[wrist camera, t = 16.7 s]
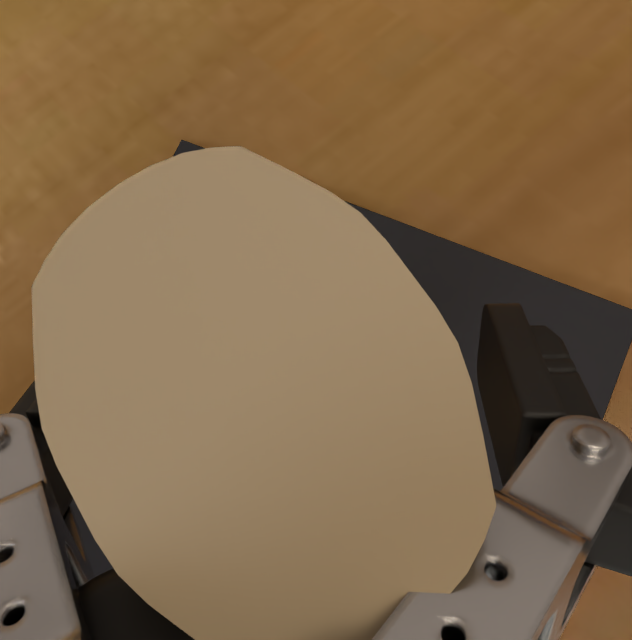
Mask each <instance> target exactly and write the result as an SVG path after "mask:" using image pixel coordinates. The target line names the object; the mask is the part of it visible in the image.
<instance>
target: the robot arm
mask: <svg viewBox="0 0 632 640" xmlns="http://www.w3.org/2000/svg"><path fill="white" fill-rule="evenodd" d="M477 380H478V387H479V391H480V395H481V399H482V404H483V408H484V412H485V416H486V420H487V424H488V428H489V432H490V436H491V441H492V445H493V449H494V453H495V457H496V461H497V465H498V469H499V473H500V478H501V482H502V486H503V488H502V489H501V490H500V491H498V490H496V489H494V488H493V490H494V495H495V500H496V509H495V512H494V515H493V517H492V520H491V523H490V526H489V529H488V532H487V535H486V538H485V540H484V542H483V544H482V546H481V548H480V550H479V552H478V554H477V556H476V558H475V560H474V562H473V564H472V565H471V567H470V569H469V571H468V573H467V574H466V576H465V577H464V578H463V579H462V580H461V582H460V583H459V584H458V585H457V586H456V587H455V589H454V590H453V591H452V592H451V593H450V594H446V593H424V592H408V593H407V594H406V595H405V597H404V598H403V599H402V601H401V602H400V603H399V605H398V606H397V607H396V608H395V610H394V611H393V612H392V614H391V615H390V616H389V618H388V619H387V620H386V622H385V623H384V624H383V625H382V627H381V628H380V629H379V631H378V632H377V633H376V635H375V636H374V637H373V638H372V639H371V640H559V639H560V637H561V635H562V633H563V631H564V629H565V627H566V625H567V623H568V621H569V619H570V617H571V615H572V613H573V611H574V610H575V608H576V606H577V604H578V602H579V600H580V598H581V596H582V594H583V592H584V590H585V588H586V586H587V584H588V582H589V580H590V578H591V576H592V575H593V573H594V571H595V569H596V567H597V566H600V567H603V568H606V569H610V570H613V571H616V572H619V573H622V574H626V575H629V576H632V442H631V441H630V439H629V438H628V437H627V436H626V435H625V434H624V433H623V432H622V431H621V430H620V429H618V428H617V427H615V426H614V425H612V424H610V423H608V422H606V421H604V420H601V418H600V416H599V414H598V412H597V410H596V408H595V405H594V403H593V401H592V399H591V397H590V395H589V393H588V391H587V389H586V387H585V385H584V383H583V381H582V379H581V377H580V375H579V373H578V372H577V368H576V366H575V364H574V362H573V360H572V359H570V354H569V352H568V350H567V348H566V346H565V344H564V342H563V340H562V339H561V338H560V337H559V336H558V335H556V334H555V333H554V332H553V331H552V330H550V329H549V328H548V327H547V326H546V325H537V326H530V325H529V323H528V320H527V318H526V315H525V313H524V311H523V308H522V306H521V304H519V303H508V304H485V305H484V307H483V311H482V319H481V328H480V337H479V347H478V356H477ZM72 500H73V497H72V495H71V493H70V491H69V489H68V487H67V485H66V483H65V481H64V479H63V477H62V476H61V474H60V472H59V470H58V468H57V466H56V464H55V461H54V458H53V456H52V453H51V451H50V448H49V446H48V443H47V441H46V438H45V436H44V433H43V430H42V427H41V421H40V415H39V409H38V403H37V397H36V391H35V380H34V382H33V383H32V384H31V386H30V387H29V388H28V389H27V391H26V392H25V393H24V394H23V396H22V397H21V398H20V400H19V401H18V402H17V403H16V405H15V406H14V407H13V409H12V410H11V411H10V412H9V413H6V414H0V640H195V639H193V638H192V637H191V636H189V635H188V634H187V633H185V632H184V631H183V630H181V629H180V628H179V627H177V626H176V625H175V624H173V623H172V622H171V621H169V620H168V619H167V618H165V617H164V616H163V615H161V614H160V613H159V612H158V611H156V610H155V609H154V608H152V607H151V606H150V605H148V604H147V603H146V602H145V601H144V600H143V599H142V598H141V597H140V596H139V595H138V594H137V593H136V592H135V591H134V590H133V589H132V588H131V587H130V586H129V585H128V584H127V583H126V582H125V581H124V580H123V579H122V578H121V577H120V576H118V574H117V573H116V571H115V570H114V568H113V569H111V570H108V571H106V572H104V573H102V574H100V575H98V576H97V577H95V576H94V574H93V571H92V567H91V564H90V561H89V558H88V555H87V552H86V549H85V545H84V542H83V539H82V536H81V533H80V530H79V527H78V524H77V520H76V517H75V514H74V512H73V510H72V508H71V506H70V504H71V502H72Z"/></svg>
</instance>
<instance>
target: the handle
mask: <svg viewBox="0 0 632 640" xmlns="http://www.w3.org/2000/svg"><path fill="white" fill-rule="evenodd" d="M32 320H33V353H34V373H35V391H36V397H37V403H38V409H39V415H40V421H41V427H42V430H43V433H44V436H45V438H46V441H47V443H48V446H49V448H50V451H51V453H52V456H53V458H54V461H55V464H56V466H57V468H58V470H59V472H60V474H61V476H62V477H63V479H64V481H65V483H66V485H67V487H68V489H69V491H70V493H71V495H72V497H73V499H74V501H75V503H76V504H77V506H78V508H79V510H80V512H81V514H82V516H83V518H84V520H85V522H86V524H87V526H88V528H89V529H90V531H91V533H92V535H93V537H94V539H95V541H96V542H97V544H98V545H99V547H100V548H101V550H102V551H103V553H104V554H105V556H106V557H107V559H108V560H109V562H110V563H111V565H112V566H113V568H114V570H115V571H116V573H117V574H118V576H120V577H121V578H122V579H123V580H124V581H125V582H126V583H127V584H128V585H129V586H130V587H131V588H132V589H133V590H134V591H135V592H136V593H137V594H138V595H139V596H140V597H141V598H142V599H143V600H144V601H145V602H146V603H147V604H148V605H150V606H151V607H152V608H154V609H155V610H156V611H158V612H159V613H160V614H161V615H163V616H164V617H165V618H167V619H168V620H169V621H171V622H172V623H173V624H175V625H176V626H177V627H179V628H180V629H181V630H183V631H184V632H185V633H187V634H188V635H189V636H191V637H192V638H193V639H195V640H371V639H372V638H373V637H374V636H375V635H376V633H377V632H378V631H379V629H380V628H381V627H382V625H383V624H384V623H385V622H386V620H387V619H388V618H389V616H390V615H391V614H392V612H393V611H394V610H395V608H396V607H397V606H398V605H399V603H400V602H401V601H402V599H403V598H404V597H405V595H406V594H407V593H408V592H424V593H446V594H450V593H451V592H452V591H453V590H454V589H455V587H456V586H457V585H458V584H459V583H460V582H461V580H462V579H463V578H464V577H465V576H466V574H467V573H468V571H469V569H470V567H471V565H472V564H473V562H474V560H475V558H476V556H477V554H478V552H479V550H480V548H481V546H482V544H483V542H484V540H485V538H486V535H487V532H488V529H489V526H490V523H491V520H492V517H493V515H494V512H495V509H496V500H495V495H494V490H493V485H492V479H491V474H490V469H489V463H488V458H487V453H486V448H485V442H484V437H483V432H482V428H481V423H480V418H479V414H478V409H477V405H476V400H475V395H474V391H473V386H472V382H471V379H470V376H469V373H468V371H467V368H466V365H465V362H464V359H463V356H462V353H461V350H460V347H459V344H458V342H457V340H456V339H455V337H454V335H453V334H452V332H451V330H450V329H449V327H448V325H447V324H446V322H445V320H444V319H443V317H442V315H441V314H440V312H439V310H438V309H437V307H436V305H435V304H434V303H433V301H432V300H431V299H430V298H429V296H428V295H427V294H426V292H425V291H424V290H423V288H422V287H421V286H420V284H419V283H418V282H417V280H416V279H415V278H414V276H413V275H412V274H411V272H410V271H409V270H408V268H407V267H406V266H405V264H404V263H403V262H402V260H401V259H400V258H399V256H398V255H397V254H396V252H395V251H394V250H393V248H392V247H391V246H390V244H389V243H388V242H387V240H386V239H385V238H384V237H383V236H382V235H381V234H380V233H379V232H378V231H377V230H376V229H375V228H374V227H373V225H372V224H371V223H370V222H369V221H368V220H367V219H366V218H365V217H364V216H363V215H362V214H361V213H360V212H359V211H358V210H356V209H355V208H353V207H352V206H350V205H349V204H347V203H346V202H345V201H343V200H342V199H340V198H339V197H337V196H336V195H334V194H333V193H331V192H330V191H328V190H326V189H325V188H323V187H321V186H319V185H317V184H315V183H313V182H311V181H309V180H307V179H306V178H304V177H302V176H300V175H298V174H296V173H294V172H292V171H290V170H288V169H286V168H284V167H282V166H280V165H278V164H276V163H274V162H272V161H270V160H268V159H266V158H264V157H262V156H260V155H258V154H256V153H254V152H252V151H250V150H248V149H246V148H244V147H241V146H230V147H212V148H207V149H201V150H196V151H190V152H185V153H181V154H179V155H176V156H174V157H171V158H169V159H166V160H164V161H161V162H158V163H156V164H153V165H151V166H149V167H147V168H145V169H144V170H142V171H140V172H138V173H137V174H135V175H133V176H131V177H130V178H128V179H126V180H124V181H123V182H121V183H119V184H118V185H116V186H115V187H114V188H112V189H111V190H110V191H108V192H107V193H106V194H104V195H103V196H102V197H101V198H99V199H98V200H97V201H95V202H94V203H93V204H92V205H90V206H89V207H88V208H86V210H85V211H84V212H83V213H82V214H81V215H80V216H79V217H78V218H77V219H76V220H75V221H74V222H73V223H72V224H71V225H70V226H69V227H68V228H67V229H66V230H65V231H64V232H63V233H62V234H61V236H60V238H59V239H58V241H57V242H56V244H55V245H54V247H53V248H52V250H51V251H50V253H49V254H48V256H47V257H46V259H45V261H44V263H43V265H42V267H41V269H40V271H39V273H38V275H37V277H36V279H35V281H34V283H33V285H32Z"/></svg>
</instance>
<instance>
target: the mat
mask: <svg viewBox="0 0 632 640" xmlns="http://www.w3.org/2000/svg"><path fill="white" fill-rule="evenodd" d="M201 149H205V148H203V147H200V146H197V145H195V144H192V143H189V142H187V141H184V140H181V142H180V144H179V146H178V148H177V150H176V152H175V154H174V156H176V155H179V154H181V153H185V152H190V151H196V150H201ZM174 156H173V157H174ZM345 202H346V201H345ZM346 203H347V204H349V205H350V206H352V207H353V208H355V209H356V210H358V211H359V212H360V213H361V214H362V215H363V216H364V217H365V218H366V219H367V220H368V221H369V222H370V223H371V224H372V225H373V227H374V228H375V229H376V230H377V231H378V232H379V233H380V234H381V235H382V236H383V237H384V238H385V239H386V240H387V242H388V243H389V244H390V246H391V247H392V248H393V250H394V251H395V252H396V254H397V255H398V256H399V258H400V259H401V260H402V262H403V263H404V264H405V266H406V267H407V268H408V270H409V271H410V272H411V274H412V275H413V276H414V278H415V279H416V280H417V282H418V283H419V284H420V286H421V287H422V288H423V290H424V291H425V292H426V294H427V295H428V296H429V298H430V299H431V300H432V301H433V303H434V304H435V305H436V307H437V309H438V310H439V312H440V314H441V315H442V317H443V319H444V320H445V322H446V324H447V325H448V327H449V329H450V330H451V332H452V334H453V335H454V337H455V339H456V340H457V342H458V344H459V347H460V350H461V353H462V356H463V359H464V362H465V365H466V368H467V371H468V373H469V376H470V379H471V382H472V386H473V391H474V395H475V400H476V405H477V409H478V414H479V418H480V423H481V428H482V432H483V437H484V442H485V448H486V453H487V458H488V463H489V469H490V474H491V479H492V485H493V488H494V489H496V490H498V491H500V490H501V489H502V488H503V486H502V482H501V478H500V473H499V469H498V465H497V461H496V457H495V453H494V449H493V445H492V441H491V436H490V432H489V428H488V424H487V420H486V416H485V412H484V408H483V404H482V399H481V395H480V391H479V387H478V380H477V356H478V347H479V337H480V328H481V319H482V311H483V307H484V305H485V304H508V303H519V304H521V306H522V308H523V311H524V313H525V315H526V318H527V320H528V323H529V325H530V326H537V325H546V326H547V327H548V328H549V329H550V330H552V331H553V332H554V333H555V334H556V335H558V336H559V337H560V338H561V339H562V340H563V342H564V344H565V346H566V348H567V350H568V352H569V354H570V359H572V360H573V362H574V364H575V366H576V368H577V372H578V373H579V375H580V377H581V379H582V381H583V383H584V385H585V387H586V389H587V391H588V393H589V395H590V397H591V399H592V401H593V403H594V405H595V408H596V410H597V412H598V414H599V416H600V418H601V420H603V417H604V414H605V412H606V409H607V406H608V403H609V401H610V398H611V395H612V393H613V390H614V387H615V384H616V382H617V379H618V376H619V373H620V371H621V368H622V365H623V363H624V360H625V357H626V354H627V352H628V349H629V346H630V344H631V341H632V309H629V308H627V307H624V306H621V305H619V304H616V303H613V302H611V301H608V300H605V299H603V298H600V297H597V296H595V295H592V294H589V293H587V292H584V291H582V290H579V289H576V288H574V287H571V286H568V285H566V284H563V283H560V282H558V281H555V280H552V279H550V278H547V277H544V276H542V275H539V274H537V273H534V272H531V271H529V270H526V269H523V268H521V267H518V266H515V265H513V264H510V263H507V262H505V261H502V260H499V259H497V258H494V257H491V256H489V255H486V254H484V253H481V252H478V251H476V250H473V249H470V248H468V247H465V246H462V245H460V244H457V243H454V242H452V241H449V240H446V239H444V238H441V237H438V236H436V235H433V234H431V233H428V232H425V231H423V230H420V229H417V228H415V227H412V226H409V225H407V224H404V223H401V222H399V221H396V220H393V219H391V218H388V217H386V216H383V215H380V214H378V213H375V212H372V211H370V210H367V209H364V208H362V207H359V206H356V205H354V204H351V203H348V202H346ZM70 506H71V508H72V510H73V512H74V514H75V517H76V520H77V524H78V527H79V530H80V533H81V536H82V539H83V542H84V545H85V549H86V552H87V555H88V558H89V561H90V564H91V567H92V571H93V574H94V576H95V577H97V576H98V575H100V574H102V573H104V572H106V571H108V570H111V569H113V566H112V565H111V563H110V562H109V560H108V559H107V557H106V556H105V554H104V553H103V551H102V550H101V548H100V547H99V545H98V544H97V542H96V541H95V539H94V537H93V535H92V533H91V531H90V529H89V528H88V526H87V524H86V522H85V520H84V518H83V516H82V514H81V512H80V510H79V508H78V506H77V504H76V503H75V501H74V499H73V500H72V502H71V504H70Z"/></svg>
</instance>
